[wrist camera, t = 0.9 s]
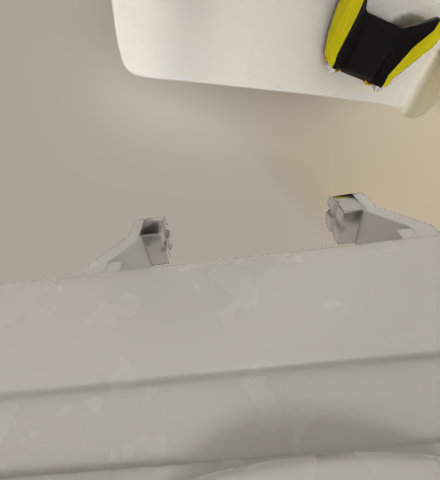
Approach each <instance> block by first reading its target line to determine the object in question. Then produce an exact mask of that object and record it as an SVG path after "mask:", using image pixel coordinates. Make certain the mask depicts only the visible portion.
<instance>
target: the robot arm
mask: <svg viewBox="0 0 440 480" xmlns="http://www.w3.org/2000/svg"><path fill="white" fill-rule="evenodd" d="M328 206H329V208H330V209H329V210H328V211H327V213H326V224H327V227H328V229H329V230H330V231H332V232H333V237H334V239H335V240H336V242H337V244H344V243H356V244H355V245H346V246H337V247H329V248H320V249H311V250H302V251H293V252H285V253H276V254H267V255H258V256H249V257H241V258H232V259H223V260H214V261H205V262H196V263H188V264H180V265H170V266H161V267H153V268H151V267H152V266H153V265H160V264H167V263H169V259H170V252H169V250H171V247H172V240H171V234H170V231H169V230H168V229H167V225H168V224H167V220H166V218H165V217H156V218H147V219H138V220H135V221H134V223H133V225H132V228H131V230H130V233H129V236H128V238H125V239H123V240H122V241H120V242H119V243H117V244H116V245H115V246H114V247H112V248H111V249H109V250H108V251H106V252H105V253H104V254H102V255H101V256H99V257H98V258H97V259H95V260H94V261H92V262H91V263H90V264H89V265H88V267H87V269H86V271H85V273H84V275H82V276H73V277H64V278H56V279H46V280H38V281H29V282H20V283H9V284H0V480H440V231H438V230H437V229H436V228H435V227H434V226H433V225H431V224H428V223H425V222H422V221H419V220H416V219H413V218H410V217H407V216H404V215H401V214H398V213H395V212H392V211H389V210H386V209H383V208H377V207H376V206H375V205H374V204H373V203H372V202H371V201H370V200H369V199H368V198H367V197H366V196H365V195H364V193H361V192H360V193H353V194H346V195H340V196H333V197H329V199H328Z"/></svg>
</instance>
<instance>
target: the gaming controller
mask: <svg viewBox="0 0 440 480" xmlns="http://www.w3.org/2000/svg"><path fill="white" fill-rule="evenodd" d="M366 5H367V0H338V2H337V3H336V6H335V9H334V12H333V15H332V18H331V21H330V24H329V28H328V31H327V36H326V41H325V46H324V54H325V59H324V60H325V61H326V62H327V63H328V68H327V69H328V71H329V73H333V72H338V71H342V72H344V73H347V74H349V75H352V76H354V77H357V78H359V79H362V80H363V81H364V82H365V84H366V85H372V86H373V88H374V90H375V91H377V92H378V91H381V90H382V89H383V88H384V87H386V86H387V85H388V84H389V83H390V82H391V80H392V79H393V78H394V77H395V76H397V75H398V74H399V73H401V72H402V71H403V70H404V69H406V68H407V67H408V66H409V65H411V64H412V63H413V62H414V61H416V60H417V59H418V58H419V57H421V56H422V55H423V54H425V53H426V52H427V51H428V50H430V49H431V48H432V47H433V46H434V45H435V44H436V43H437V41H438V40H439V39H440V18H439V17H434V18H431V19H428V20H425V21H422V22H419V23H416V24H412V25H409V26H403V27H399V26H396V25H394V24H392V23H390V22H387V21H385V20H383V19H381V18H379V17H376V16H374V15H372V14H370V13H368V12H367V10H366Z"/></svg>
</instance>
